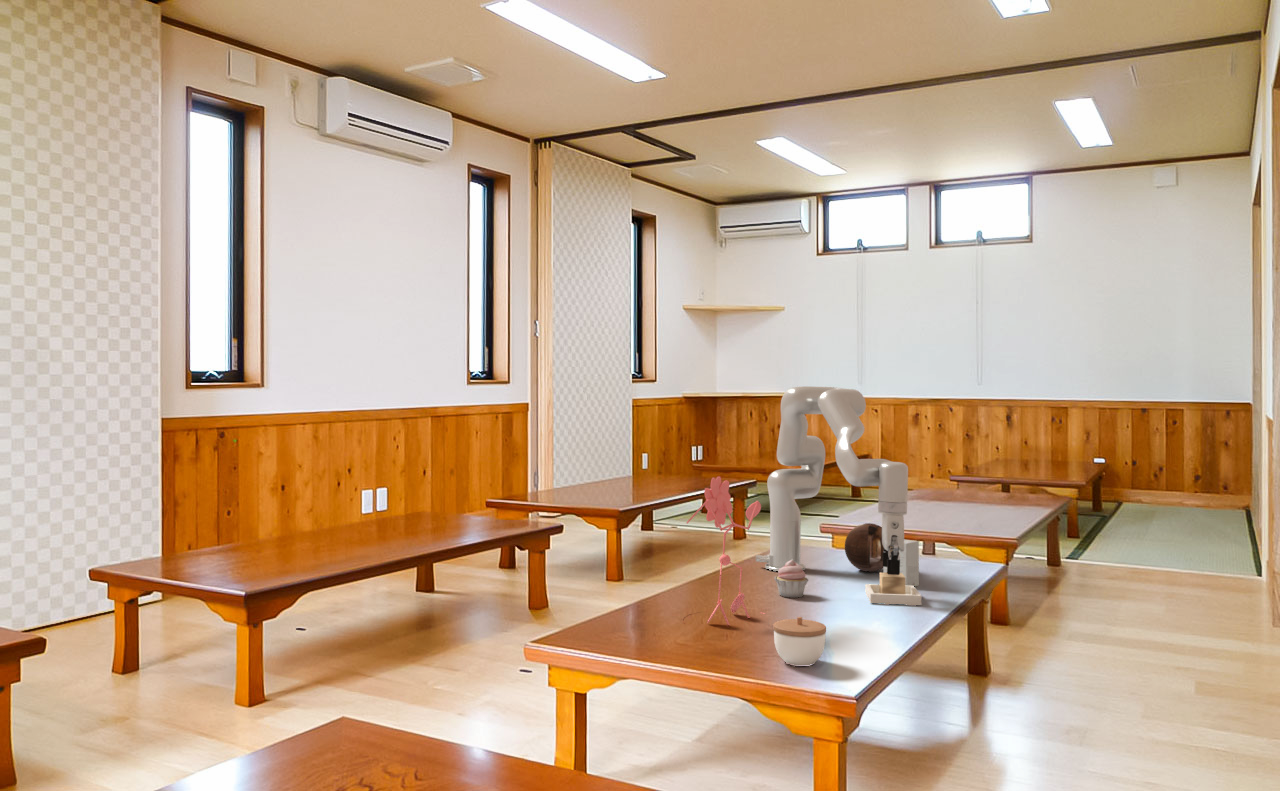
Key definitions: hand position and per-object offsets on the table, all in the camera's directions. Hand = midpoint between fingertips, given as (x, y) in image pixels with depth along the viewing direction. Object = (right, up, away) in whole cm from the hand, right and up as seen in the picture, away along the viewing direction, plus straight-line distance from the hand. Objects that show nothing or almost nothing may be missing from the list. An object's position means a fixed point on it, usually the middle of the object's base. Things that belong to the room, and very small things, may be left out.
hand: (890, 570), depth 250 cm
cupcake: (-26, -8, +3) cm, 28 cm away
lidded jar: (-35, -8, -60) cm, 70 cm away
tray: (0, -8, -1) cm, 8 cm away
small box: (+8, -8, +18) cm, 22 cm away
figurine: (-49, -8, -23) cm, 55 cm away
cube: (0, -7, -1) cm, 7 cm away
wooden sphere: (+4, -8, +39) cm, 40 cm away
